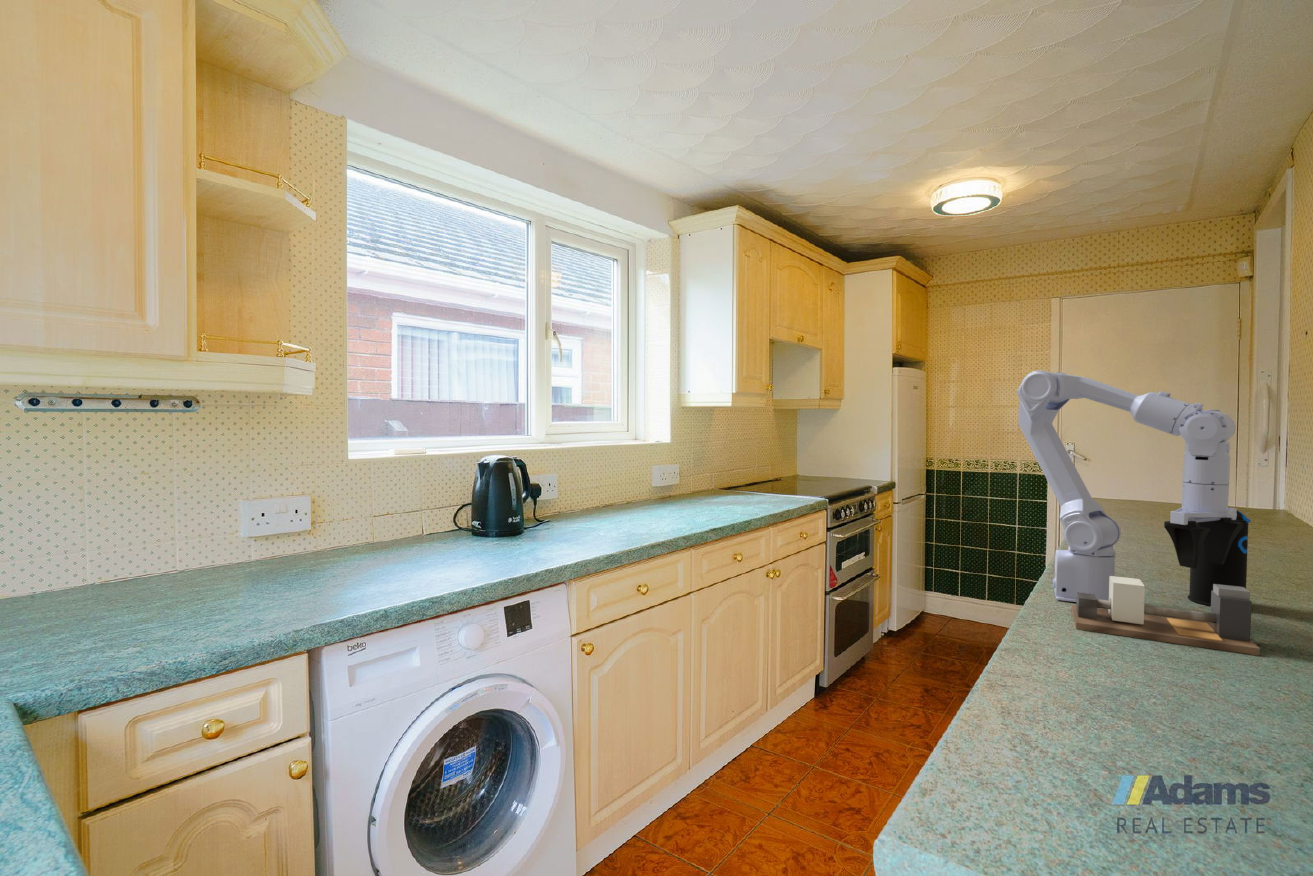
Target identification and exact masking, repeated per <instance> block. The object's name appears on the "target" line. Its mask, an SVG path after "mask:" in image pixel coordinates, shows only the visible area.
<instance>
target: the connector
mask: <svg viewBox="0 0 1313 876" xmlns="http://www.w3.org/2000/svg"><path fill="white" fill-rule="evenodd" d="M1250 594H1251V591H1249V590H1248V589H1247V587H1246V588H1244V587H1239V586H1229V585H1220V584H1213V590H1211V606H1210V613H1214V614H1216V623H1211V622H1209V623H1210V627H1211V628H1212V629H1213V630H1214V631H1215V633H1216V634H1217V635H1218V636H1219V637H1220V638H1227V639H1234V640H1241V641H1248V642H1250V640H1251V635H1252V634H1251V633H1252V632H1251V631H1252V609H1253V608H1252V607H1253V606H1252V605H1253V604H1252V603H1253V601H1252V600H1251V599H1250V598H1251V595H1250Z"/></svg>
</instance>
